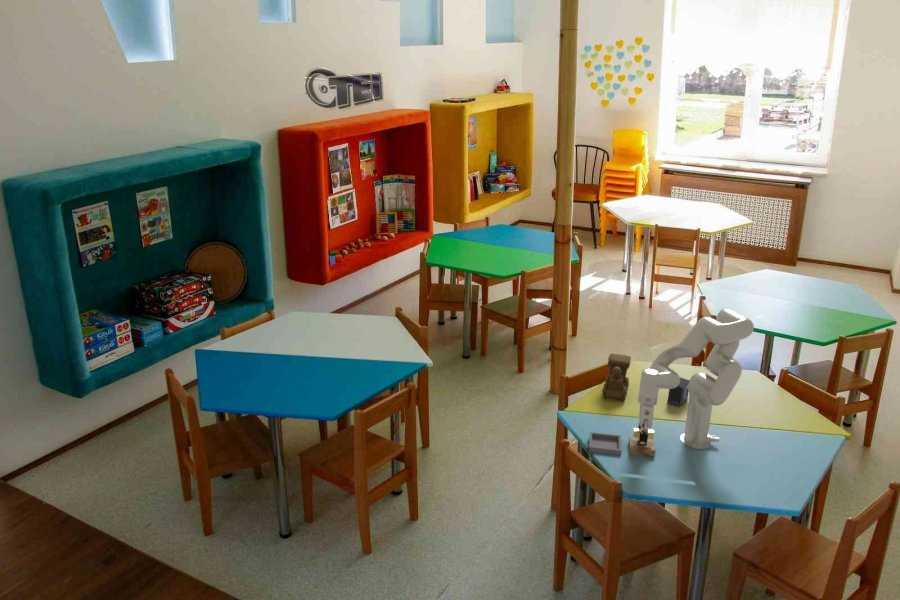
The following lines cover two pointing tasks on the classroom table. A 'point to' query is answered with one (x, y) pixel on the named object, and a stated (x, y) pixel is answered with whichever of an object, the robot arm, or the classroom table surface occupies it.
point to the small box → (679, 393)
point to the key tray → (605, 443)
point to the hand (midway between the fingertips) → (642, 436)
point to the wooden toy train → (617, 377)
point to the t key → (637, 434)
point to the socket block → (641, 447)
